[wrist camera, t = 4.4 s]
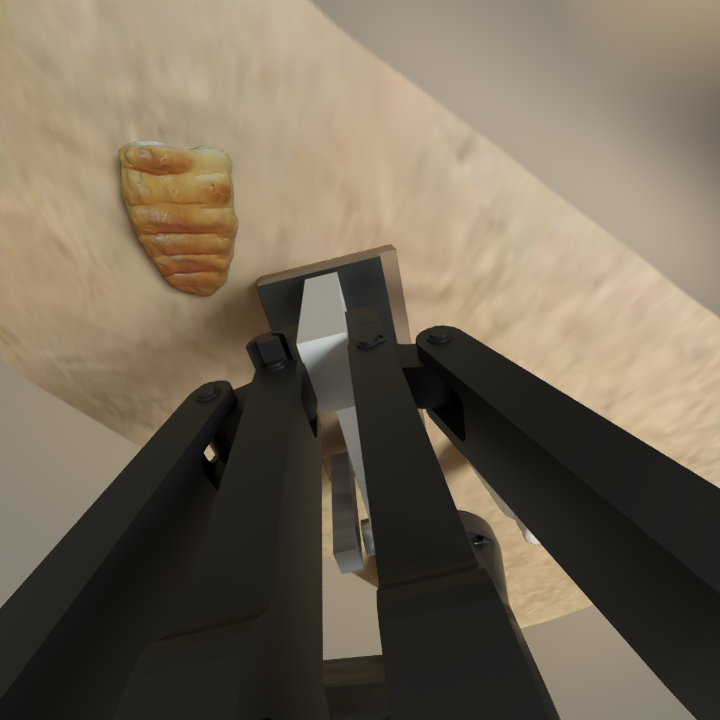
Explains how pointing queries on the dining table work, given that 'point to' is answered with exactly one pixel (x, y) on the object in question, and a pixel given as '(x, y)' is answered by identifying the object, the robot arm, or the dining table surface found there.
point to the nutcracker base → (331, 432)
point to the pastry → (182, 211)
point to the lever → (359, 290)
